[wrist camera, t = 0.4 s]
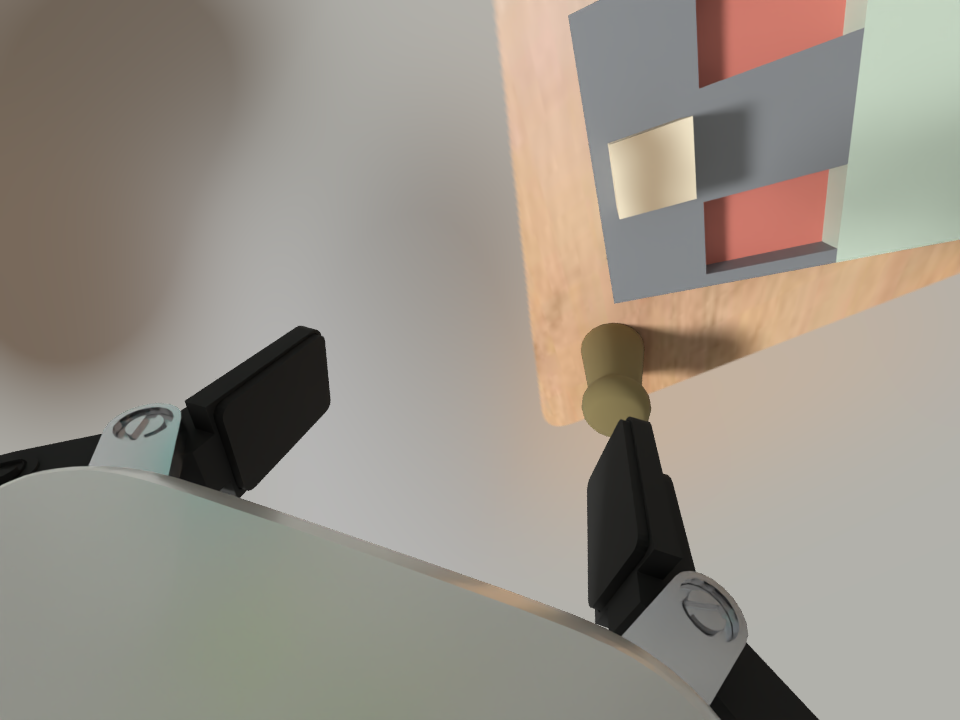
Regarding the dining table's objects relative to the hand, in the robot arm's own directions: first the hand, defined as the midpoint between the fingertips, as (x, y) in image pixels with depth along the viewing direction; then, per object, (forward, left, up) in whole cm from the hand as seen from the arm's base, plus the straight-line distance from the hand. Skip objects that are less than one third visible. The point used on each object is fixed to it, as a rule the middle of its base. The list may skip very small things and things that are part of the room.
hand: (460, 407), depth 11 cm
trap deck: (-15, -3, -26) cm, 30 cm away
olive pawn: (-3, +13, -26) cm, 29 cm away
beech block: (-8, -3, -23) cm, 25 cm away
